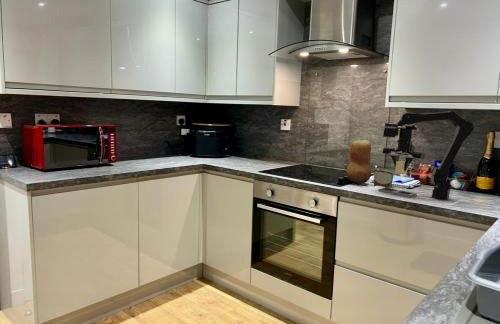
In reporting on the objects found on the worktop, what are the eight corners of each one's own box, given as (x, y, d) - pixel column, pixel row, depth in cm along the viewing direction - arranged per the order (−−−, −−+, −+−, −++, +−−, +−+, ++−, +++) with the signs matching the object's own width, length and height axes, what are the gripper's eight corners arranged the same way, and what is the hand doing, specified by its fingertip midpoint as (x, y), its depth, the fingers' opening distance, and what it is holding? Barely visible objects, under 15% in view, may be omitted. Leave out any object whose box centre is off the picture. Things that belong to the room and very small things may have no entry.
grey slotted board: (416, 197, 183) (416, 193, 182) (409, 199, 177) (409, 195, 177) (385, 191, 194) (385, 187, 194) (377, 193, 188) (378, 189, 188)
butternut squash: (340, 182, 213) (344, 138, 209) (354, 180, 221) (358, 138, 218) (361, 187, 202) (366, 141, 199) (375, 184, 211) (379, 140, 207)
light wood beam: (406, 173, 183) (407, 161, 182) (402, 174, 180) (404, 162, 179) (398, 172, 186) (399, 160, 185) (394, 173, 183) (396, 161, 182)
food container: (397, 189, 202) (399, 170, 201) (392, 190, 198) (394, 171, 197) (377, 184, 211) (378, 167, 210) (371, 185, 207) (373, 168, 206)
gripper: (431, 140, 180) (426, 172, 182) (393, 136, 193) (390, 166, 195) (422, 140, 172) (417, 174, 174) (383, 136, 185) (380, 167, 187)
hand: (401, 170), depth 183 cm, fingers closed on light wood beam, 4 cm apart
